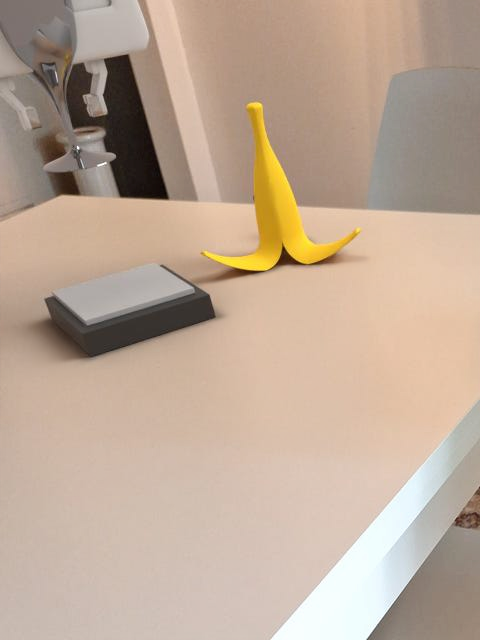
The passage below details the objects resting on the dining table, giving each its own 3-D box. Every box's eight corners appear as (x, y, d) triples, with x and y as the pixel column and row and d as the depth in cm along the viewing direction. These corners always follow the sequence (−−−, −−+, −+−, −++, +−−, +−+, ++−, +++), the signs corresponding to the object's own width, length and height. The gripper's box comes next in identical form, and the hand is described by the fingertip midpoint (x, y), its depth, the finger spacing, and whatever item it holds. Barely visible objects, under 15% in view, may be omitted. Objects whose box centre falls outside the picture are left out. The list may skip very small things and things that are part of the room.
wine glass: (135, 150, 94) (81, -29, 84) (91, 172, 89) (28, -17, 79) (69, 152, 96) (9, -23, 86) (22, 174, 91) (-48, -11, 81)
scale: (90, 357, 95) (79, 327, 93) (52, 320, 104) (41, 293, 102) (216, 317, 100) (208, 288, 98) (169, 285, 109) (161, 258, 107)
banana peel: (204, 282, 109) (160, 124, 98) (281, 230, 122) (250, 85, 111) (328, 288, 104) (297, 122, 93) (395, 233, 117) (374, 82, 106)
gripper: (109, -69, 87) (155, 97, 96) (-121, -38, 79) (-48, 140, 88) (131, -69, 83) (177, 104, 92) (-109, -37, 75) (-33, 150, 84)
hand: (66, 122), depth 90 cm, fingers closed on wine glass, 5 cm apart
